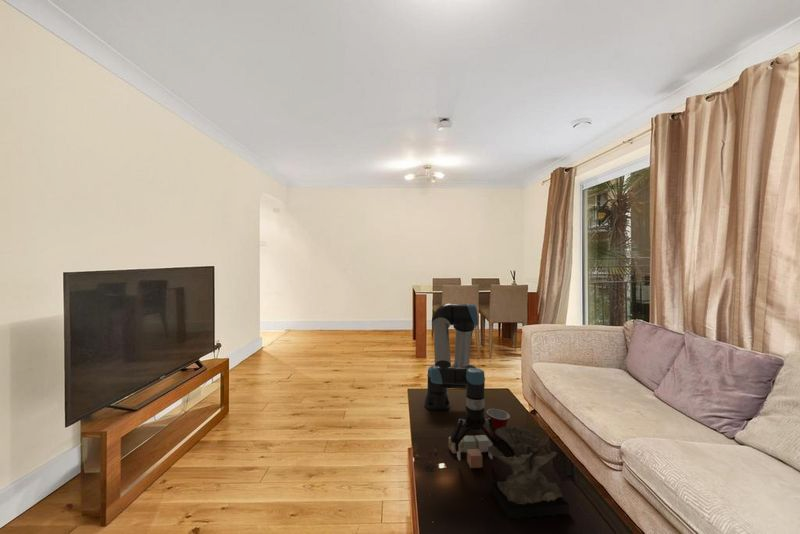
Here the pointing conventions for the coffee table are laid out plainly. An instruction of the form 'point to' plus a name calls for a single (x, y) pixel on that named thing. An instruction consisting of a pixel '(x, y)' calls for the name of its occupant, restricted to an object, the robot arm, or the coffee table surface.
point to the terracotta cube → (474, 458)
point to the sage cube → (469, 443)
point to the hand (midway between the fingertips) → (474, 458)
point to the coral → (526, 477)
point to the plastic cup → (498, 419)
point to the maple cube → (452, 446)
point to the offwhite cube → (482, 443)
